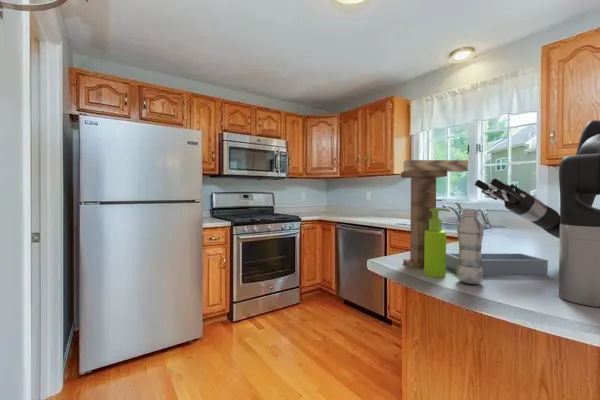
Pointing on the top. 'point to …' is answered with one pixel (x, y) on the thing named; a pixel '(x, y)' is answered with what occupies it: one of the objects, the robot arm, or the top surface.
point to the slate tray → (505, 264)
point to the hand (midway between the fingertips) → (483, 181)
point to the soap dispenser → (435, 247)
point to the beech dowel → (437, 165)
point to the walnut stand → (421, 211)
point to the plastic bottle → (470, 248)
